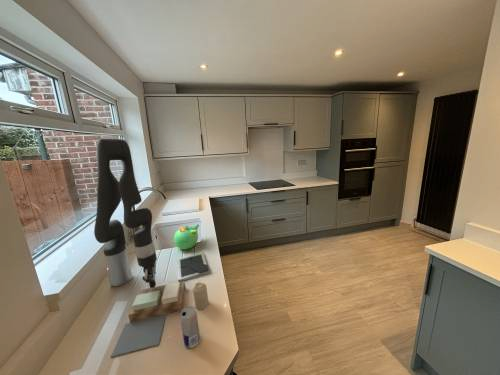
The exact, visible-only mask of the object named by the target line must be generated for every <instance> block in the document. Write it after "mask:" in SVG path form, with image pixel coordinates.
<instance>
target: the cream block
mask: <svg viewBox="0 0 500 375" xmlns="http://www.w3.org/2000/svg"><path fill="white" fill-rule="evenodd" d="M165 285H166V286H165V289H164V293H163V296H162V304H167V303H171V302H176V301H178V297H179V291H180V282H178V281H177V282H173V283H168V284H165Z"/></svg>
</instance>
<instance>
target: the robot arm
mask: <svg viewBox="0 0 500 375" xmlns="http://www.w3.org/2000/svg"><path fill="white" fill-rule="evenodd" d="M95 149H96V164H97V186H96V188H97V189H96V215H95V216H96V217H95V222H94V230H93V235H94V238H95V240H96V241H97V242H98V243H99V244H106V243H108V244H107V245H106V246H105V247H104V248H103V254H104V258H105V262H106V265H107V266H106V267H107V268H106V274H107V278H108V281H109V282H108V283H109V286H112V287H121V286H123V285H126V284H127V283H129V282H130V281H131V280H132V279H133V273H132V268H131V265H130V260H129V256H128V253H127V249H126V248H127V247H126V243H127V242H126V236H125V229H124V226H125V227H127V228H128V229H131V230H132V229H136V228H138V227H141V228H139V229H138V230H136V231H135V232H134V233H133V234H132V239H133V244H134V248H135V249H134V250H135V256H136V259H137V260H136V261H137V265H138V266H139V267H141V268H142V270H143V273H144V276H142V280H143V281H144V282H145V283H147V284H149V285H148V286H149V288H153V287H156V286H157V283H156V279H155V278H156V274H157V273H156V272H157V268H156V267H157V266H156V265H157V264H156V262H157V259H158V258H157V252H156V248H155V245H154V241H153V236H152V223H153V213H152V211H151V210H150V209H149V208H148V207H142V208H139V209H136V210H133V207H134V206H136V205H139V204H140V203H141V202H143V201H142V196H141V192H140V191H139V188H138V184H137V182H136V177H135V172H134V171H135V170H134V164H133V159H132V153H131V149H130V145H129V144H128V142H127V141H126V140H125V139H121V138H110V137H100V138H99V139H98V140H97V141H96V147H95ZM111 161H121V165H122V171H121V175H120V178H119V180H118V179H117V178H116V176H114V174H113V172H112V170H111V165H110V164H111ZM121 201H122V204H123V223H124V226H123V224H122V222H121V221H120V220H118V219H112V220H111V218H112V216H113V214H114V213H115V212H116V210H117V209H118V207H119V205H120V203H121Z"/></svg>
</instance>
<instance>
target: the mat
mask: <svg viewBox="0 0 500 375" xmlns="http://www.w3.org/2000/svg"><path fill="white" fill-rule="evenodd" d="M166 317H167V315H166V314H164V315H160V316H155V317H151V318H147V319H142V320H138V321H134V322H130V321H129V322H126V323H125V324H124V326H123V328H122V331H121V333H120V334H119V338H118V339H117V341H116V345H115V346H114V348H113V350H112V352H111V355H110V358H114V357H115V358H116V357H118V356H122V354H123V355H127V354H130V353H129V352H131V353H134V352H137V350H138V351H141V349H142V350H144V349H145V350H146V349H149V348H153V347H157V346H159V345H160V341H161V337H162V333H163V331H164V330H163V329H164V324H165V320H166ZM133 351H134V352H133ZM126 353H127V354H126Z"/></svg>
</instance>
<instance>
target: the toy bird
mask: <svg viewBox="0 0 500 375" xmlns="http://www.w3.org/2000/svg"><path fill="white" fill-rule="evenodd" d="M199 227H200V225H199V224H197V223H196V225H194V226H193V227H192V226H179V228H178V229H177V230H176V231H175V233H174V236H173V243H174V245H175V246H176V247H177V248H178V249H180V250H189V249H191V248H193V247H195V246H196V244H197V242H198V241H199V240H198V239H199V233H198V228H199Z"/></svg>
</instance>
